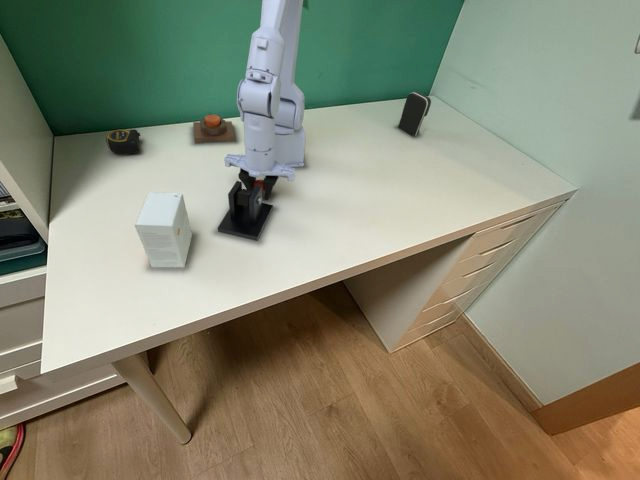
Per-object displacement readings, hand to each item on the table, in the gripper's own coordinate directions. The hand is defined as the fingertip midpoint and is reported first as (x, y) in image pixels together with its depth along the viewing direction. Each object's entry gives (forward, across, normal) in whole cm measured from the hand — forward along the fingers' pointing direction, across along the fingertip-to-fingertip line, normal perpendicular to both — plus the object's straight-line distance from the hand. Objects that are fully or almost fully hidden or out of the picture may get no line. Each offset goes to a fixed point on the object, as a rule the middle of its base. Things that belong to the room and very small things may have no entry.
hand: (260, 198), depth 73 cm
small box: (0, -10, -20) cm, 22 cm away
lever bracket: (-1, 0, -8) cm, 8 cm away
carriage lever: (-4, 0, -5) cm, 6 cm away
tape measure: (-1, -35, +6) cm, 35 cm away
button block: (-1, -20, +20) cm, 28 cm away
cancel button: (-4, -19, +20) cm, 28 cm away
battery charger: (-1, +33, +46) cm, 56 cm away
